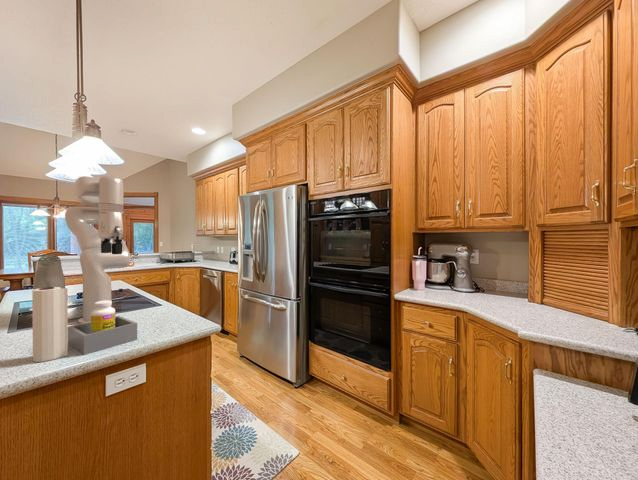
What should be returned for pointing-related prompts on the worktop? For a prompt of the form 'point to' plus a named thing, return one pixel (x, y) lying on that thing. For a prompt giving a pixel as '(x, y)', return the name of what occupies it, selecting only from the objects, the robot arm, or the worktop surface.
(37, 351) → the paper towel roll
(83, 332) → the walled box
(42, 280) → the grey rounded cylinder
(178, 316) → the worktop surface
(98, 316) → the supplement bottle
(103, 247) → the robot arm
